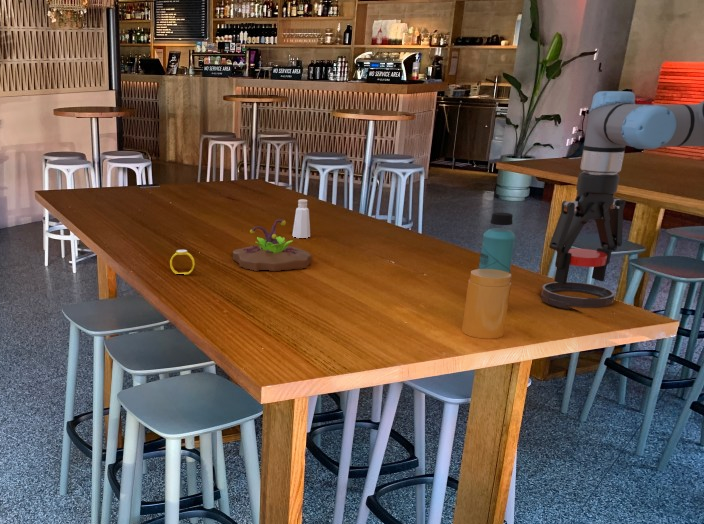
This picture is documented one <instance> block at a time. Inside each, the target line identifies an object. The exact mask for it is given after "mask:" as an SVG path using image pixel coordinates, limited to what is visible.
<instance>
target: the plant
mask: <svg viewBox="0 0 704 524" xmlns="http://www.w3.org/2000/svg"><path fill="white" fill-rule="evenodd" d="M286 221H287V220H285V219H283V218H277V219H276V220H274V223H273V224H272V226H271V231H270V232H269V231H268V230H267V229H266V228H265V227H262V226H260V225H257V226H255V227H252V228H251V229H250V230H249V234H251V235H254V234H255V232H256V229H259V230H260V231H262V233H263V234H264V238H265V239H264V238H262V237H258V236H257V237H256V239H257V241H255V244H256V245H254V244H252V245H249V246H246V247H241V248H236V249H234V250H232V260H233V261H234V262H236V263H238V264H239V268H242V267H243V268H242V269H245V270H248V269H250V270H249V271H253V270H254V271H253V272H260V271H259V270H269V271H268V272H282V271H281V270H285V271H293V270H292V269H295V270H304V269H303V268H306V269H307V268H308V267H309V266H310V265H311V262H312V255H311V253H310V252H309V251H307V250H303V249H301V248H299V247H297V246H296V247H295V246H290V244H292V242H294V240H293V239H292V240H291V239H290V240H288V241H286V238H285V237H284V236H283V237H282V236H280V235H279V236H278V234H277V232H276V228H277V227H276V226H277V225H278V223H279V224H280V225H281V226H282V227H284V226H286V225H287V222H286ZM257 245H258V246H257Z"/></svg>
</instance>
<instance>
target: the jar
mask: <svg viewBox="0 0 704 524" xmlns="http://www.w3.org/2000/svg"><path fill="white" fill-rule="evenodd" d="M512 279H513V277H512V273H511V272H510V273H508V272H505V271H501V270H495V269H479V268H476V269H473V270H471V271H470V274H469V279H468V281H467V286H466V287H467V288H466V296H465V303H464V309H463V310H464V311H463V319H462V325H461V332H462V333H463V334H465V335H466V336H469V337H472V338H476V339H485V340H486V339H487V340H493V339H499V338H502V337H503V336H504V333H505V328H506V321H507V314H508V308H509V303H510V302H509V301H510V296H511V288H512V282H511V280H512Z"/></svg>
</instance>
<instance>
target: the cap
mask: <svg viewBox="0 0 704 524" xmlns="http://www.w3.org/2000/svg"><path fill="white" fill-rule="evenodd" d="M568 253H571V254H572V255H571V260H570V266H575V267H585V268H594V267H599V266H604V265H605V264H606V260H607V254H606V253H603V252H600V251H597V249H596V250H595V249H589V248H570V250H569V252H568Z"/></svg>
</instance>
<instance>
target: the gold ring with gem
mask: <svg viewBox="0 0 704 524" xmlns="http://www.w3.org/2000/svg"><path fill="white" fill-rule="evenodd" d="M177 255H178V256H183V255H185V256H187V257H189V259H190V260H191V262H192V263H191V264H192V266H191V269H190V270H189V271H184V272H178V270H175V268H174V266H173V260H174V258H175V257H176V256H177ZM195 266H196V261H195V257H194V256H193V255H192V254H191V253H190V252H188V250H187V249H177V250H176V251H175V253H174V254H172V256H171V258H170V260H169V267H170V270H171V272H173V273H174V274H175V275H176V274H184V275H183V276H187V275H190V274H191V273H192V272H193V271H194V268H195Z"/></svg>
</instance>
